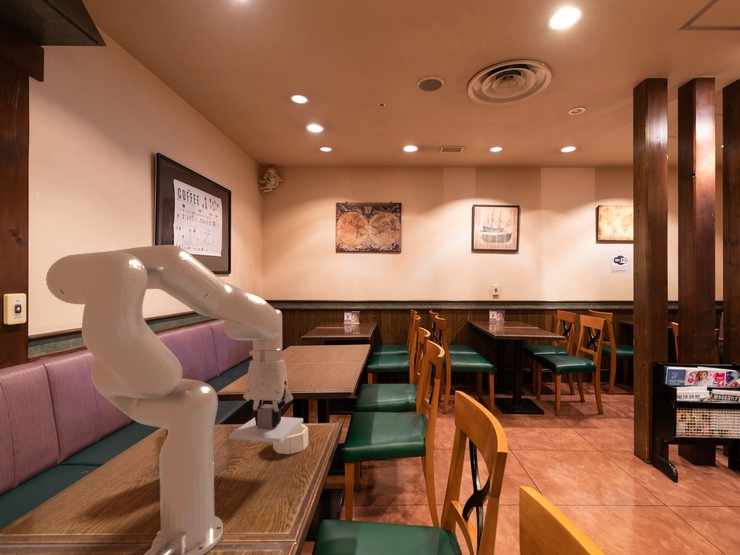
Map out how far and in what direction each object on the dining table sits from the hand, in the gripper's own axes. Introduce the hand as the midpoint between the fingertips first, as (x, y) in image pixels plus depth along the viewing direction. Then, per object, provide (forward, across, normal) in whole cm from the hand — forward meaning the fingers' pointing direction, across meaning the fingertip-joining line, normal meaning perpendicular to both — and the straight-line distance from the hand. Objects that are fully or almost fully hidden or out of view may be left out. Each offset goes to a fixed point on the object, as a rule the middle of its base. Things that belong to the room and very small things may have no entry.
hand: (268, 423), depth 94 cm
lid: (+2, 0, 0) cm, 2 cm away
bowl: (+13, -1, +16) cm, 20 cm away
